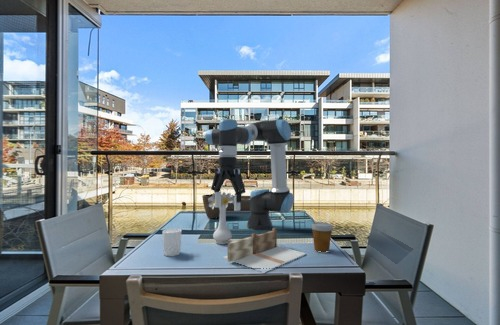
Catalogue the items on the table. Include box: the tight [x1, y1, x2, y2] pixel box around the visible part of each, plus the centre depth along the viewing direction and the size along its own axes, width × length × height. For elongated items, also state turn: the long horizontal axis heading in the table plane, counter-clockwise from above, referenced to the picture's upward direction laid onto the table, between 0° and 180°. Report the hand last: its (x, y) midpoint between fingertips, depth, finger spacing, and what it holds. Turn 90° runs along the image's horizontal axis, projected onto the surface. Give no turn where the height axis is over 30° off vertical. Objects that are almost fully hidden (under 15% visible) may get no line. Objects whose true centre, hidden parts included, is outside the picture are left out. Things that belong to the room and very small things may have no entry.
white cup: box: [162, 228, 183, 257], centre depth 117 cm, size 8×8×10 cm
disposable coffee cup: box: [310, 221, 334, 252], centre depth 124 cm, size 10×10×12 cm
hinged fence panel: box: [227, 236, 253, 263], centre depth 111 cm, size 13×2×7 cm, turn 137°
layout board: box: [223, 245, 307, 269], centre depth 115 cm, size 28×22×1 cm
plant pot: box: [201, 193, 220, 219], centre depth 195 cm, size 15×15×16 cm
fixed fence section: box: [251, 227, 278, 254], centre depth 122 cm, size 16×2×8 cm, turn 137°
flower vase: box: [208, 191, 234, 245], centre depth 135 cm, size 13×18×25 cm
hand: (227, 208), depth 114 cm, fingers open, 11 cm apart
